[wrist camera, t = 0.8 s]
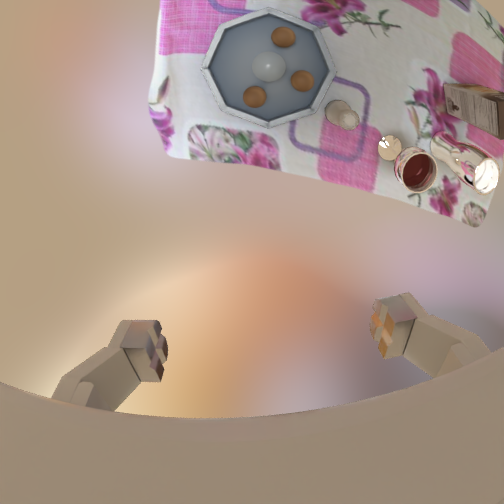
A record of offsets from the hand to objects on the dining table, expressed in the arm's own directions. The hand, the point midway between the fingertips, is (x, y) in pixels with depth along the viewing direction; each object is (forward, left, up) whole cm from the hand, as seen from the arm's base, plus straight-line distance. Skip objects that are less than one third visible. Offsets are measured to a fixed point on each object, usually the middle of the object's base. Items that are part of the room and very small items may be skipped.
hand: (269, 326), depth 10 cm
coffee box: (-39, +5, -41) cm, 56 cm away
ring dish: (-4, -8, -41) cm, 42 cm away
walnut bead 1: (0, -4, -40) cm, 40 cm away
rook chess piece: (-12, +3, -41) cm, 43 cm away
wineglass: (-20, +12, -41) cm, 47 cm away
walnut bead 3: (-8, -4, -40) cm, 41 cm away
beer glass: (-32, +14, -41) cm, 53 cm away
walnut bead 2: (-8, -12, -40) cm, 42 cm away
